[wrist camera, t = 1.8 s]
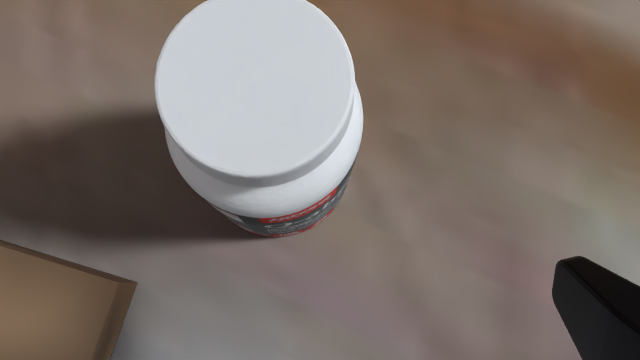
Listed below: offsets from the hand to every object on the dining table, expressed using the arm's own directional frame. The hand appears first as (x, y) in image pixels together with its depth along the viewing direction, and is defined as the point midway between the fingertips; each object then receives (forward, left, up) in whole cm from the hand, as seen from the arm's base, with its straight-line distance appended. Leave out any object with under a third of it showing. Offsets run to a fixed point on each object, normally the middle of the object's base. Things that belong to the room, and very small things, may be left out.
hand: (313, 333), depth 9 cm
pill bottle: (+5, +3, -12) cm, 13 cm away
